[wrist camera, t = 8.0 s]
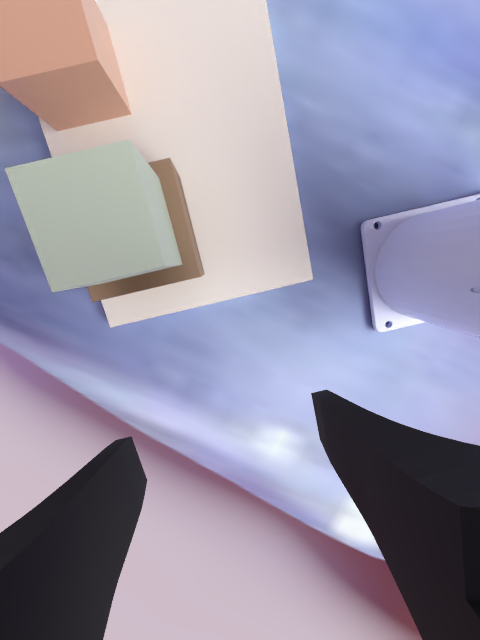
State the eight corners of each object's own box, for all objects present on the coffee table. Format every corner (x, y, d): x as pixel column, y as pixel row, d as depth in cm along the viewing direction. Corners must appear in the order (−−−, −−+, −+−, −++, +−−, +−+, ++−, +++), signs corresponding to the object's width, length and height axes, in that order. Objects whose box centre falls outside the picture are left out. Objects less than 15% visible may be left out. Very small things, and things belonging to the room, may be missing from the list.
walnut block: (179, 176, 17) (169, 157, 14) (204, 274, 18) (200, 276, 15) (83, 199, 17) (51, 184, 14) (115, 295, 18) (92, 302, 15)
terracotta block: (106, 24, 15) (60, -71, 11) (132, 114, 16) (98, 59, 12) (28, 42, 15) (-52, -46, 11) (57, 131, 16) (-5, 83, 12)
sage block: (182, 264, 15) (165, 265, 10) (102, 283, 15) (52, 292, 10) (159, 177, 14) (129, 139, 10) (73, 197, 14) (4, 168, 9)
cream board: (255, -33, 16) (257, -53, 15) (308, 278, 20) (313, 279, 19) (13, 22, 16) (-1, 6, 15) (116, 324, 19) (110, 327, 18)
